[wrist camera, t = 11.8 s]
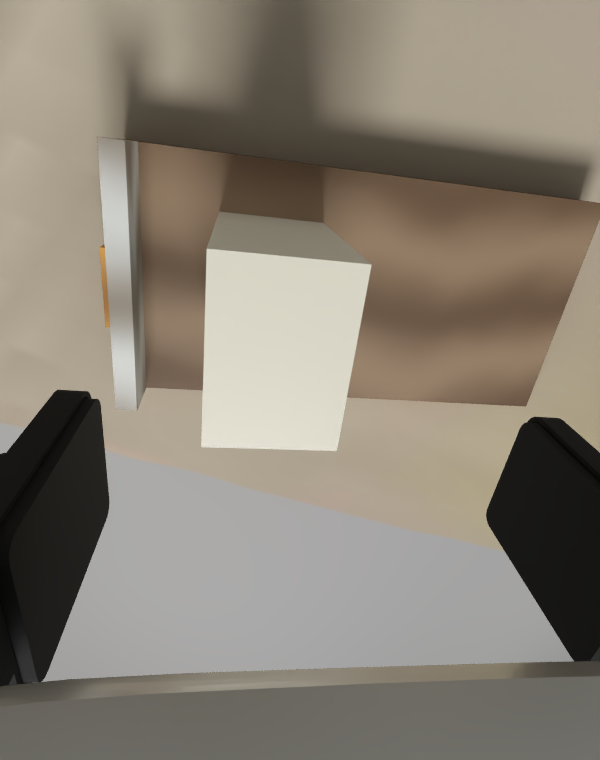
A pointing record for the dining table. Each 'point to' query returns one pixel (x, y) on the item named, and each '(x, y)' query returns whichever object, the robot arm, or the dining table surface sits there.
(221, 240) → the carton
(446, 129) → the dining table surface
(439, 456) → the dining table surface
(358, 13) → the dining table surface
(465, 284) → the shelf board
